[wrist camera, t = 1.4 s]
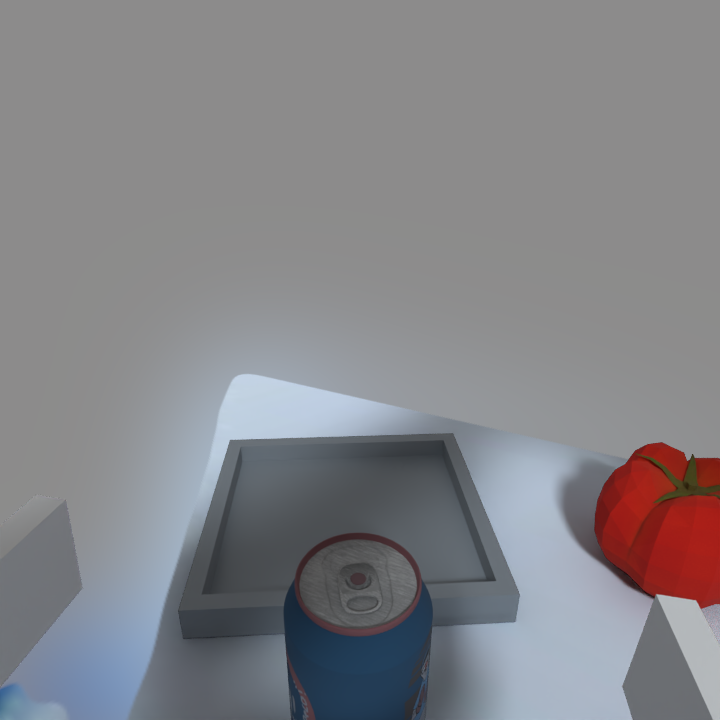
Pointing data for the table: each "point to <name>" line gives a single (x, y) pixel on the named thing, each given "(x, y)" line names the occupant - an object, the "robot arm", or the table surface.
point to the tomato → (664, 523)
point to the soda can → (358, 632)
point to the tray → (342, 528)
